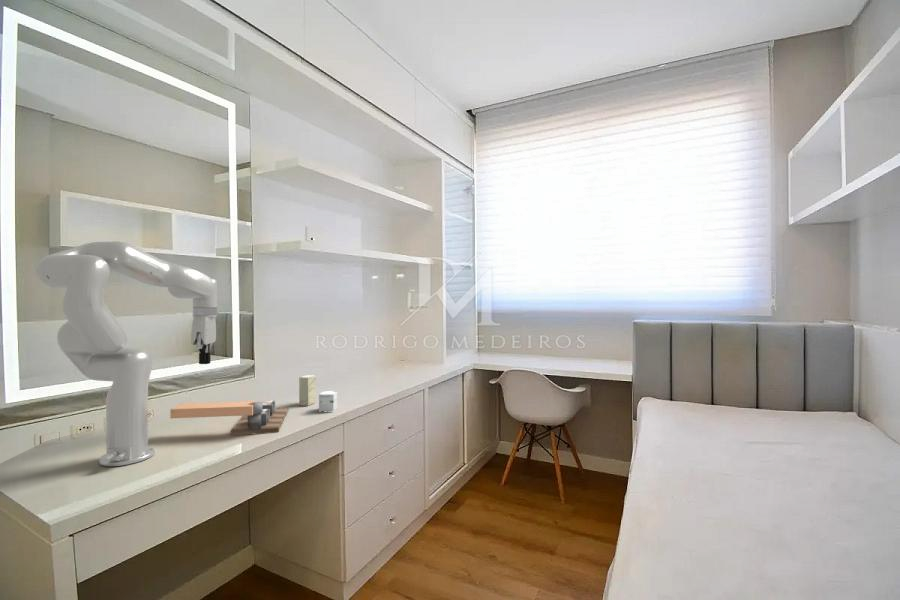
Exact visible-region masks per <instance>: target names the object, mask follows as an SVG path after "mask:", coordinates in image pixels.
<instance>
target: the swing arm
mask: <svg viewBox="0 0 900 600" xmlns="http://www.w3.org/2000/svg"><path fill="white" fill-rule="evenodd" d="M169 412H170V415H169V416H170V417H169V418H170V419H189V418H191V419H192V418H193V419H194V418H218V417H239V416H241V417H243V416H247V415H253V414H259V413H262V412H263V403H262V402H261V401H260V400H259V401H258V400H253V401H251V400H250V401H248V400H247V401H221V402H220V401H219V402H196V403H195V402H194V403H193V402H191V403H189V402H188V403H187V402H186V403H179V404H178V405H176V406H173V407H172V408H170V410H169Z"/></svg>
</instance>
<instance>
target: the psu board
mask: <svg viewBox="0 0 900 600" xmlns="http://www.w3.org/2000/svg"><path fill="white" fill-rule="evenodd" d="M260 402H262V403H263V412H262V413H259V414H253V415H247V416H241V418H240V419H239V420H238V422H236V424H235V425H234V426H233V427H232V429H231V430H230V436H242V435H241V434H245V435H253V434H252V433H258V434H266V433H265V432H271V433H280V431H281V428H282V426H283V424H284V422H285V420H284V419H286V418H285V417H287V415H288V413H289V407H281V408H279V407H278V408H276V400H265V401H260ZM283 421H284V422H283Z"/></svg>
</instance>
